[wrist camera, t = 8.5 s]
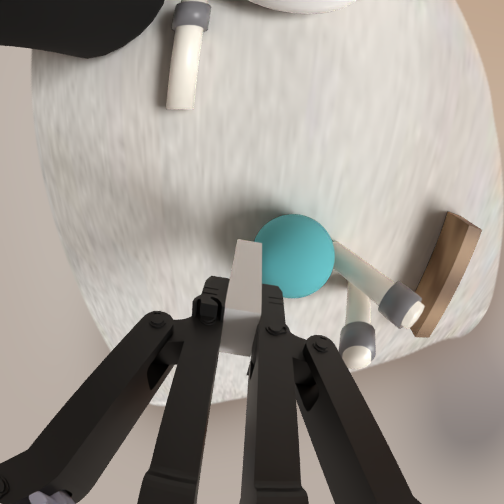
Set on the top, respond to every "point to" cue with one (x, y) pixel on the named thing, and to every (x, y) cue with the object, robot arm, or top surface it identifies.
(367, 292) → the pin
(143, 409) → the robot arm
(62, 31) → the coffee jar
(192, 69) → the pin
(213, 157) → the top surface
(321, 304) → the top surface
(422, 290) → the back wall
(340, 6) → the flower in vase
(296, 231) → the ball
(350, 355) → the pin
